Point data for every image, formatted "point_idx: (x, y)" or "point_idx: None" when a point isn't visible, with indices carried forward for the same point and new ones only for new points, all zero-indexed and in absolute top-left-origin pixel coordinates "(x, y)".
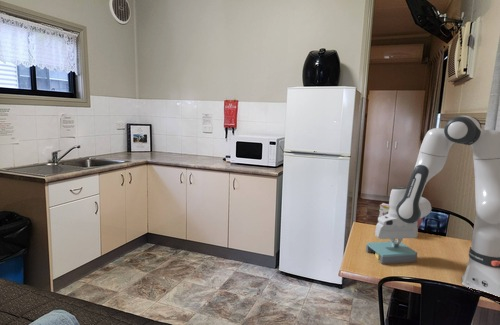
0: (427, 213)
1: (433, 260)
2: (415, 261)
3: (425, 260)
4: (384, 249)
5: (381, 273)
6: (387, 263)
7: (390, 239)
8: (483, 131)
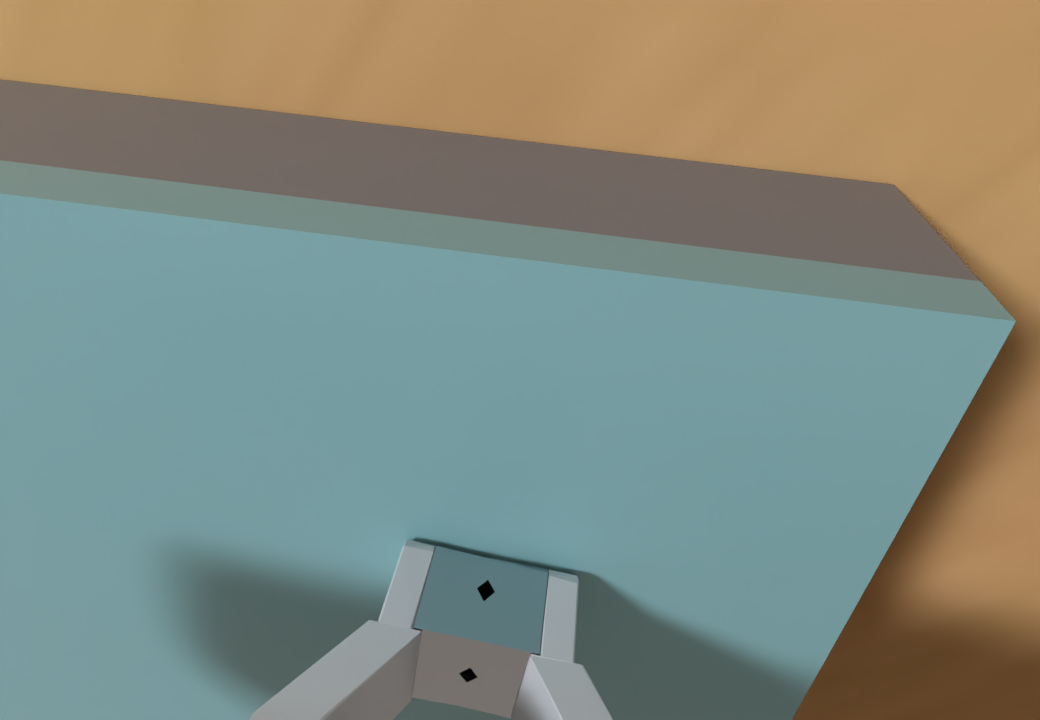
0: None
1: (1035, 712)
2: None
3: (900, 679)
4: (91, 605)
5: None
6: None
7: (271, 699)
8: None
